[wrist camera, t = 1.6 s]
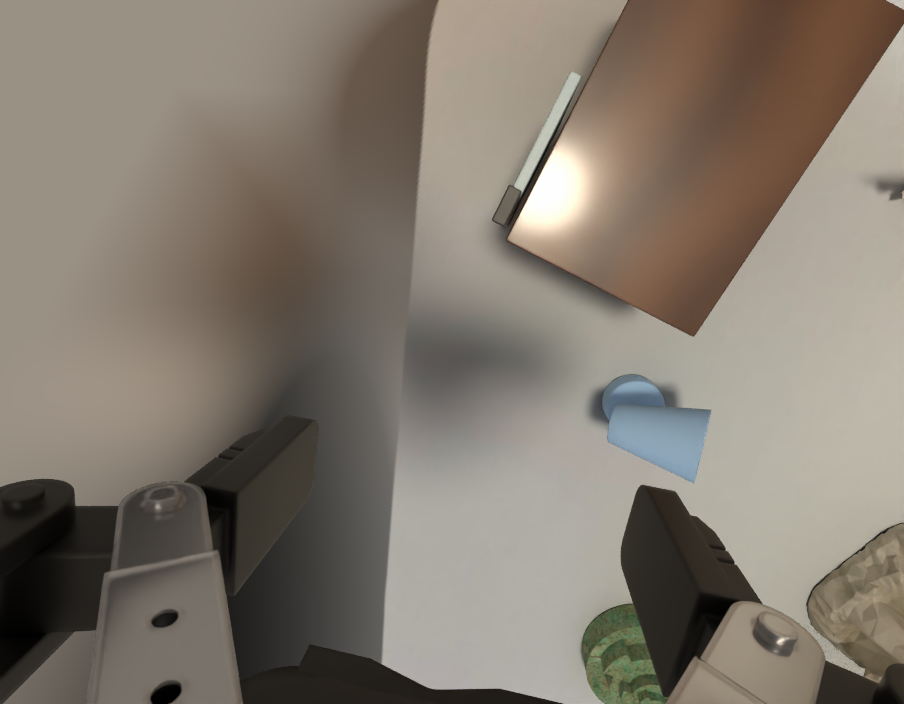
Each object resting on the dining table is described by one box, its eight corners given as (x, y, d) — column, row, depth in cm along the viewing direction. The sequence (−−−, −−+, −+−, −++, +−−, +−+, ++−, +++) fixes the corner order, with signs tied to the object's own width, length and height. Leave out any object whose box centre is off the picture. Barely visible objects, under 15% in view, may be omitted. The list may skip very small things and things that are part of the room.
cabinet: (507, 236, 37) (505, 240, 25) (617, 20, 33) (682, -107, 20) (633, 300, 37) (694, 337, 25) (760, 94, 33) (912, 12, 20)
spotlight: (685, 377, 38) (597, 368, 39) (743, 427, 29) (625, 414, 29) (673, 434, 40) (588, 424, 40) (725, 500, 30) (612, 486, 31)
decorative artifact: (639, 584, 43) (560, 644, 46) (663, 650, 37) (568, 715, 39) (716, 652, 44) (634, 707, 47) (753, 729, 38) (654, 788, 40)
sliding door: (501, 223, 37) (491, 220, 20) (551, 122, 34) (586, 28, 18) (507, 227, 37) (504, 226, 20) (559, 126, 34) (600, 35, 18)
